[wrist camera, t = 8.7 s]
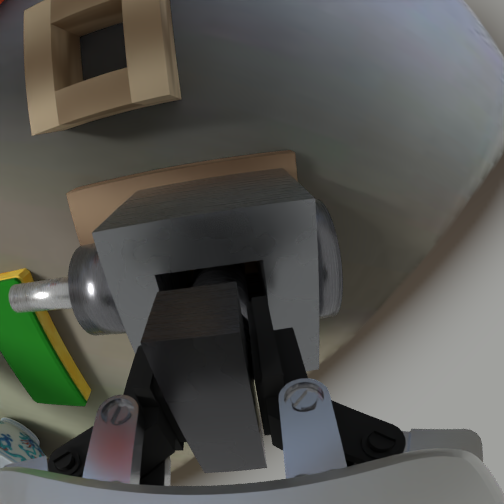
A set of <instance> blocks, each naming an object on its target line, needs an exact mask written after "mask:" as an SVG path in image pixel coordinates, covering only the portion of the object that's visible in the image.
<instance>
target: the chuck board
mask: <svg viewBox="0 0 504 504" xmlns="http://www.w3.org/2000/svg"><path fill="white" fill-rule="evenodd" d="M277 168H283V169H284V170H285V171H286V172H288V173H289V174H290V175H291V176H292V177H293V178H294V179H295V180H296V181H297V182H298V180H297V168H296V157H295V152H293V151H291V150H285V151H276V152H267V153H258V154H250V155H243V156H235V157H228V158H221V159H215V160H208V161H202V162H196V163H190V164H184V165H179V166H173V167H168V168H162V169H157V170H152V171H147V172H142V173H138V174H133V175H128V176H124V177H119V178H115V179H110V180H106V181H102V182H98V183H94V184H90V185H86V186H82V187H78V188H75V189H73V190H72V191H70V192H68V193H66V195H67V199H68V203H69V207H70V211H71V214H72V218H73V222H74V225H75V229H76V232H77V235H78V239H79V242H80V245H81V246H82V245H87V244H92V243H94V239H93V236H92V232H93V231H94V230H95V229H96V228H97V227H98V226H99V225H100V224H101V223H102V222H103V221H104V220H106V219H107V218H108V217H109V216H110V215H111V214H112V213H113V212H114V211H115V210H116V209H117V208H118V207H120V206H121V205H122V204H123V203H124V202H125V201H126V200H127V199H128V198H130V197H131V196H132V195H133V194H134V193H135V192H136V191H137V190H142V189H147V188H153V187H158V186H163V185H169V184H174V183H180V182H186V181H192V180H198V179H204V178H210V177H217V176H224V175H231V174H238V173H245V172H253V171H260V170H269V169H277ZM244 264H245V273H246V274H249V273H256V272H258V266H257V261H251V262H244ZM193 272H194V270H190V273H191V277H192V278H193Z"/></svg>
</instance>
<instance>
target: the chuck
mask: <svg viewBox="0 0 504 504" xmlns="http://www.w3.org/2000/svg"><path fill="white" fill-rule="evenodd" d="M92 236H93V239H94V243H92V244H87V245H82V246H80V247H79V248H77V249H76V251H75V252H74V254H73V256H72V258H71V262H70V265H69V272H68V277H63V278H56V279H49V280H42V281H35V282H28V283H22V284H15V285H13V286H12V287H11V288H10V291H9V303H10V305H11V307H12V309H13V310H14V311H15V312H17V313H23V312H35V311H47V310H59V309H70V308H72V309H73V311H74V314H75V316H76V318H77V320H78V322H79V324H80V325H81V326H82V328H83V329H84V330H85V331H86V332H88V333H89V334H91V335H108V334H122V333H127V335H128V338H129V340H130V343H131V345H132V347H133V350H134V352H135V354H136V351H137V348H138V346H140V345H141V343H140V342H141V339H142V336H143V333H144V330H145V327H146V324H147V320H148V317H149V315H150V312H151V309H152V306H153V303H154V300H155V297H156V294H157V292H159V291H167V290H175V289H183V288H191V283H192V277H191V273H190V270H194V269H201V268H209V267H216V266H223V265H230V264H237V263H244V262H251V261H257V266H258V272H256V273H249V274H246V281H247V289H248V297H249V302H252V297H259V296H266V297H267V301H268V306H269V311H270V316H271V320H272V325H273V330H278V329H284V328H291V327H292V328H293V329H294V333H295V336H296V339H297V343H298V346H299V349H300V353H301V356H302V360H303V363H304V367H305V370H306V371H310V370H316V369H319V319H321V318H327V317H332V316H335V315H337V314H338V312H339V309H340V306H341V301H342V290H343V277H342V264H341V256H340V250H339V244H338V240H337V235H336V232H335V228H334V225H333V222H332V219H331V217H330V214H329V212H328V210H327V208H326V206H325V205H324V204H323V202H322V201H320V200H318V199H317V200H315V198H314V197H313V196H312V195H311V194H310V193H309V192H308V191H307V190H306V189H305V188H304V187H303V186H302V185H300V184H299V183H298V182H297V181H296V180H295V179H294V178H293V177H292V176H291V175H290V174H289V173H288V172H286V171H285V170H284V169H283V168H277V169H269V170H260V171H253V172H245V173H238V174H231V175H224V176H217V177H210V178H204V179H198V180H192V181H186V182H180V183H174V184H169V185H163V186H158V187H153V188H147V189H142V190H137V191H136V192H135V193H134V194H133V195H132V196H131V197H130V198H128V199H127V200H126V201H125V202H124V203H123V204H122V205H121V206H120V207H118V208H117V209H116V210H115V211H114V212H113V213H112V214H111V215H110V216H109V217H108V218H107V219H106V220H104V221H103V222H102V223H101V224H100V225H99V226H98V227H97V228H96V229H95V230H94V231H93V232H92ZM254 380H255V379H254Z"/></svg>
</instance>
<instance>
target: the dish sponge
mask: <svg viewBox="0 0 504 504" xmlns="http://www.w3.org/2000/svg"><path fill="white" fill-rule="evenodd" d="M28 282H34V280H33V278H32V275H31V273H30V271H29V270H27V269H26V268H25V269H20V270H15V271H11V272H6V273H1V274H0V351H1V353H2V354H3V356H4V358H5V359H6V361H7V362H8V364H9V366H10V367H11V369H12V370H13V372H14V373H15V375H16V376H17V378H18V379H19V381H20V382H21V383H22V385H23V386H24V388H25V389H26V391H27V392H28V393H29V395H30V396H31V397H32V399H33V400H34V401H35V402H37V403H44V404H56V405H70V406H85V405H86V403H87V400H88V398H89V395H90V392H91V389H90V387H89V386H88V384H87V382H86V381H85V379H84V378H83V376H82V374H81V373H80V371H79V369H78V368H77V366H76V364H75V363H74V361H73V359H72V357H71V356H70V354H69V352H68V350H67V348H66V347H65V345H64V343H63V341H62V339H61V337H60V335H59V333H58V332H57V330H56V328H55V326H54V324H53V322H52V320H51V318H50V316H49V313H48V311H35V312H23V313H17V312H15V311H14V310H13V309H12V307H11V305H10V303H9V291H10V288H11V287H12V286H13V285H15V284H22V283H28Z"/></svg>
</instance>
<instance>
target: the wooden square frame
mask: <svg viewBox="0 0 504 504" xmlns="http://www.w3.org/2000/svg"><path fill="white" fill-rule="evenodd" d="M122 22H123V28H124V40H125V50H126V60H127V67H126V68H123V69H119V70H116V71H112V72H109V73H106V74H103V75H100V76H97V77H93V78H90V79H88V80H85V81H83V72H82V62H81V49H80V37H81V36H83V35H86V34H89V33H92V32H94V31H97V30H100V29H103V28H106V27H109V26H112V25H115V24H119V23H122ZM24 67H25V82H26V93H27V103H28V111H29V119H30V126H31V132H32V136H33V135H39V134H44V133H50V132H56V131H63V130H67V129H69V128H72V127H76V126H79V125H82V124H85V123H88V122H91V121H95V120H98V119H101V118H105V117H108V116H112V115H116V114H119V113H123V112H127V111H131V110H135V109H139V108H143V107H147V106H152V105H156V104H161V103H166V102H170V101H176V100H181V99H182V98H181V91H180V84H179V76H178V68H177V60H176V52H175V44H174V35H173V26H172V17H171V7H170V0H44V1H42V2H40V3H38V4H36V5H34V6H32V7H30V8H28V9H26V10H25V11H24Z"/></svg>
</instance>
